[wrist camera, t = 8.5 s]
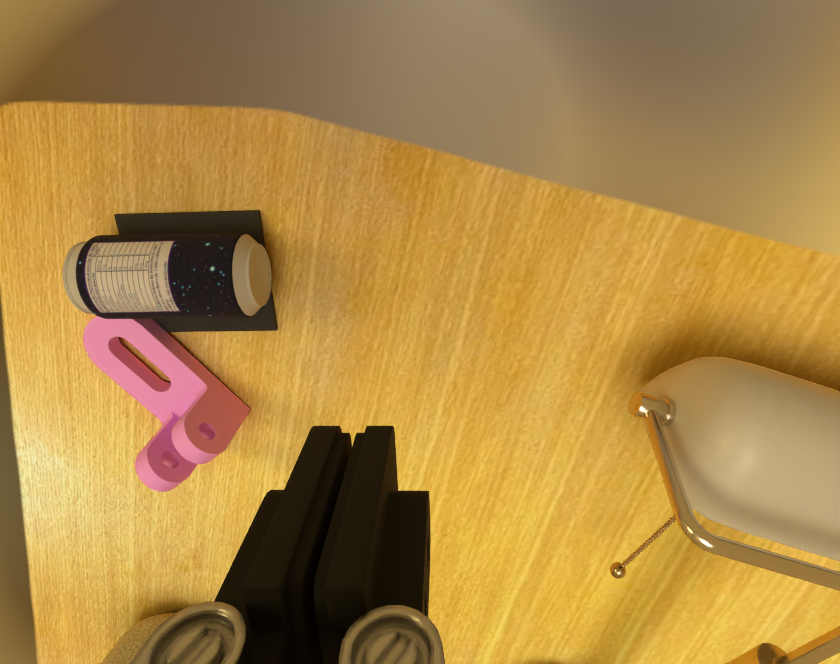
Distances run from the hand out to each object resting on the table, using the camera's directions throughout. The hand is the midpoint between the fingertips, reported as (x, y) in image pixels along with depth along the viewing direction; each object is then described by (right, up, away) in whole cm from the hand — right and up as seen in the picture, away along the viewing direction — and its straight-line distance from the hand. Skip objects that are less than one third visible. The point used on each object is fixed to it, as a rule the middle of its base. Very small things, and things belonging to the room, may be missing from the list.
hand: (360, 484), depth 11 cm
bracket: (-19, 0, +30) cm, 36 cm away
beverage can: (-9, +7, +24) cm, 26 cm away
